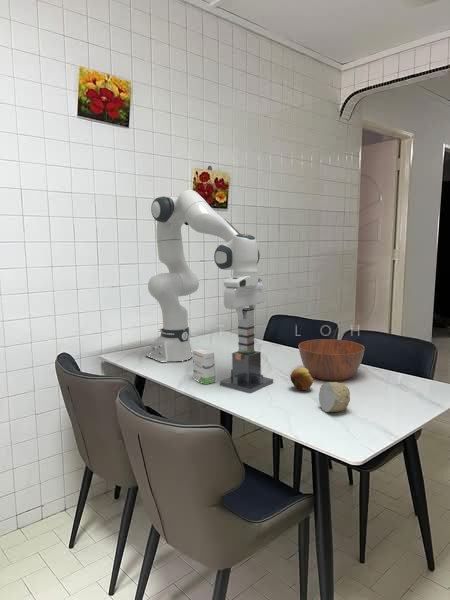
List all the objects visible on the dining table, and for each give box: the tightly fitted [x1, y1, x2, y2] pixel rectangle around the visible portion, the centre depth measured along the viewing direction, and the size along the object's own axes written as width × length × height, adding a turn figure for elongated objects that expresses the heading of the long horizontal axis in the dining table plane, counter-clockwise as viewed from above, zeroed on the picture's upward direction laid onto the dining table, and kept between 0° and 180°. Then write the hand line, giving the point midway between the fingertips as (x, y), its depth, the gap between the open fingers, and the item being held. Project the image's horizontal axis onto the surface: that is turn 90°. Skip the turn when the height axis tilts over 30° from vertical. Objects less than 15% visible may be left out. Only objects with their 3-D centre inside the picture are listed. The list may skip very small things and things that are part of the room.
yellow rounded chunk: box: [318, 381, 351, 413], centre depth 136 cm, size 10×10×10 cm
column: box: [237, 306, 255, 355], centre depth 160 cm, size 4×4×18 cm
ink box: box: [192, 348, 216, 385], centre depth 166 cm, size 9×5×12 cm, turn 35°
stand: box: [219, 350, 274, 394], centre depth 162 cm, size 14×14×12 cm
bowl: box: [297, 338, 365, 382], centre depth 172 cm, size 25×25×11 cm
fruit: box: [289, 366, 314, 392], centre depth 155 cm, size 8×8×8 cm
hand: (245, 318), depth 160 cm, fingers closed on column, 4 cm apart
